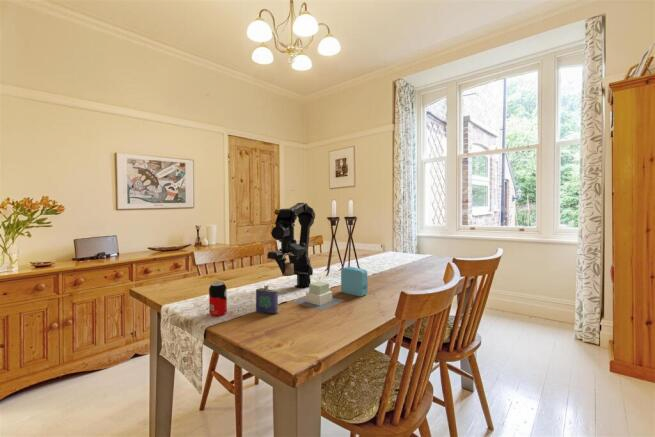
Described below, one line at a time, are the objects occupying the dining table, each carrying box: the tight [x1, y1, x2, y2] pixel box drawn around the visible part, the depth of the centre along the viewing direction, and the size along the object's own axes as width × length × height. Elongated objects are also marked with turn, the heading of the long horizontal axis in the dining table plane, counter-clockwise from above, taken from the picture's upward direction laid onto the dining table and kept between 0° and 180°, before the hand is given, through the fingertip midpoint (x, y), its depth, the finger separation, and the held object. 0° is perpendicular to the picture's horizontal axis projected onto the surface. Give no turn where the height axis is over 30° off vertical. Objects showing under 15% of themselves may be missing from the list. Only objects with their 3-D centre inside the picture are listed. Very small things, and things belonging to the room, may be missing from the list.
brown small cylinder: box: [281, 261, 295, 277], centre depth 135 cm, size 5×5×5 cm
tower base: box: [305, 290, 333, 306], centre depth 131 cm, size 8×8×4 cm
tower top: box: [308, 280, 330, 295], centre depth 131 cm, size 6×6×4 cm
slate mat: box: [293, 296, 346, 312], centre depth 131 cm, size 16×16×1 cm
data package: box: [340, 266, 368, 297], centre depth 142 cm, size 12×4×12 cm, turn 50°
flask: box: [255, 284, 279, 315], centre depth 119 cm, size 9×3×11 cm, turn 74°
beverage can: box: [208, 281, 228, 317], centre depth 117 cm, size 6×6×12 cm
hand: (287, 272), depth 135 cm, fingers closed on brown small cylinder, 5 cm apart
